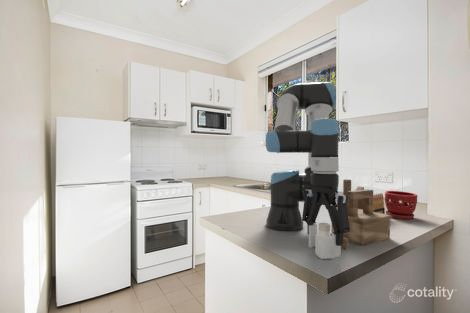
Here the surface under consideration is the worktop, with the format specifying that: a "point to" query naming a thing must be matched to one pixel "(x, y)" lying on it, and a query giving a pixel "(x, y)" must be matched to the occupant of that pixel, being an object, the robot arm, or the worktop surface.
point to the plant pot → (400, 204)
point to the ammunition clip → (378, 203)
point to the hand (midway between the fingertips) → (323, 250)
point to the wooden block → (348, 188)
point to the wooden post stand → (367, 213)
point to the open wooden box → (368, 232)
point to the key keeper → (344, 242)
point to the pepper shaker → (323, 242)
